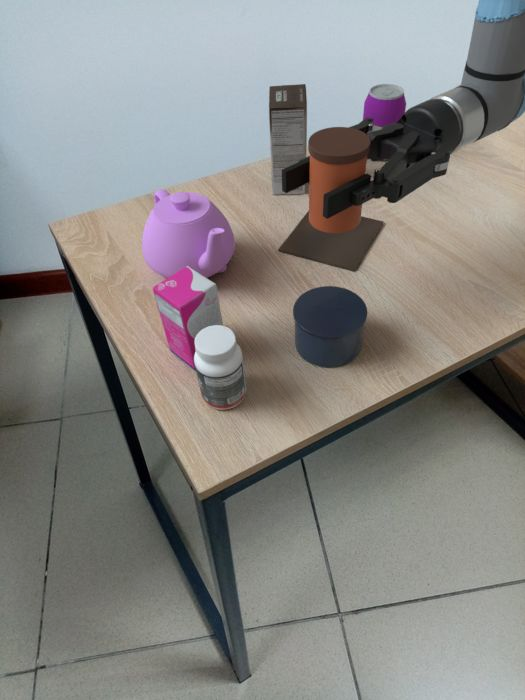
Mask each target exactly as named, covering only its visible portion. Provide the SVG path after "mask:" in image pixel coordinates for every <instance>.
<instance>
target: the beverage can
mask: <svg viewBox="0 0 525 700" xmlns="http://www.w3.org/2000/svg"><path fill="white" fill-rule="evenodd" d="M406 107H407V101H406V96H405V90H404V88H402V86H399V85H396V84H392V83H382V84H376V85H373V86H372V87H371V88H369V91H368V93H367V96H366V98H365V100H364V103H363V111H362V112H363V113H362V121H363V120H364V119H366V118H372V119H374V122H373V125H375V126H379V127H383V126H385V125H387V124H394V123H397V122H398V121H399V119H400V118H401V117H402V116H403V114H404V113H405V112H406ZM377 152H378V151H377ZM386 160H387V161H388V159H383V160H382V161H386Z"/></svg>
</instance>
